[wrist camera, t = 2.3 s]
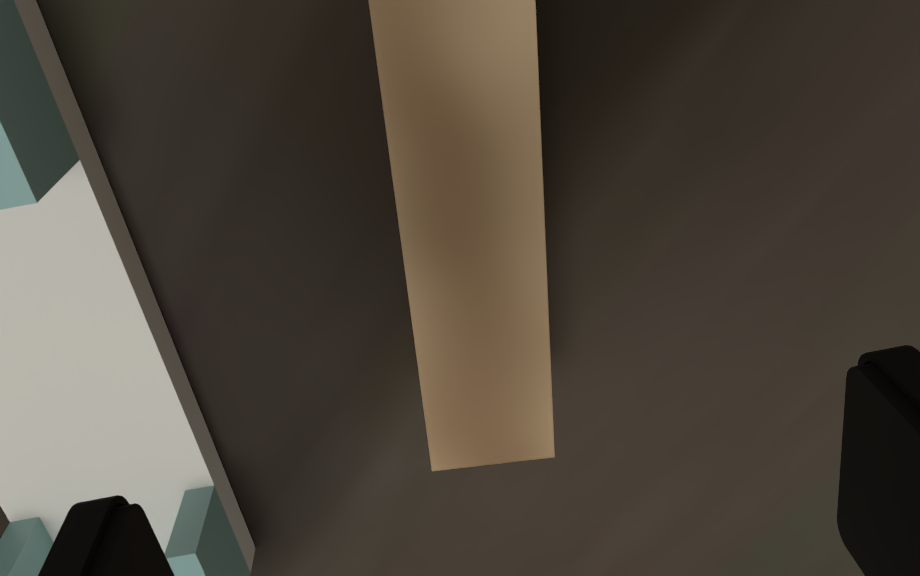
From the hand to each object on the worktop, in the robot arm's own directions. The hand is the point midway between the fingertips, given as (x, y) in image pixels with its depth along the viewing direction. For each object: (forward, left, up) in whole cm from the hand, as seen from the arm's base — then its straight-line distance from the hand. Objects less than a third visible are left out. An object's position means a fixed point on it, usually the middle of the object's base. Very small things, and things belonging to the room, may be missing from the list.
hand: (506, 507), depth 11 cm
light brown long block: (0, 0, -15) cm, 15 cm away
